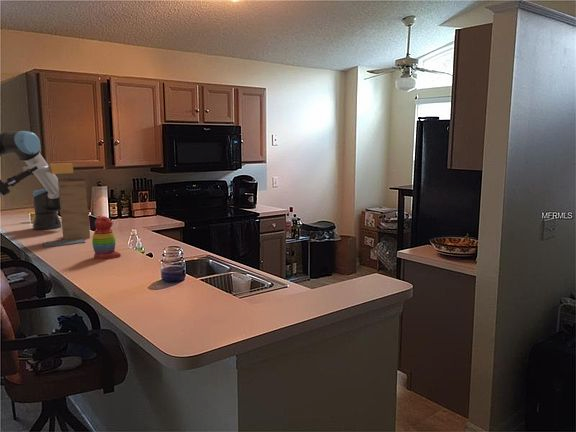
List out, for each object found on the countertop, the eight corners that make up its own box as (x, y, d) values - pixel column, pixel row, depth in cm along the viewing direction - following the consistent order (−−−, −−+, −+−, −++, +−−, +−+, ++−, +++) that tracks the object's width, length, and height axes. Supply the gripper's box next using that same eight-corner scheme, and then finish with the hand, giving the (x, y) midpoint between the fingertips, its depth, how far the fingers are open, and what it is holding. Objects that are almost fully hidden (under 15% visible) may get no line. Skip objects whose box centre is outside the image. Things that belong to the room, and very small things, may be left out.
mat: (43, 243, 235) (43, 242, 235) (82, 239, 245) (82, 238, 245) (45, 247, 227) (44, 246, 227) (85, 242, 236) (85, 241, 236)
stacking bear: (122, 256, 206) (119, 216, 203) (98, 260, 199) (95, 219, 196) (112, 252, 214) (109, 213, 211) (89, 256, 207) (86, 216, 204)
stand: (63, 238, 248) (57, 178, 243) (87, 235, 254) (82, 177, 250) (65, 241, 241) (59, 179, 237) (90, 238, 248) (85, 178, 243)
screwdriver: (24, 175, 230) (23, 165, 229) (23, 174, 234) (22, 164, 233) (73, 173, 241) (72, 163, 240) (72, 172, 245) (71, 163, 244)
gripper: (2, 194, 235) (46, 169, 244) (3, 197, 221) (49, 170, 230) (-8, 182, 232) (36, 156, 241) (-8, 184, 218) (39, 157, 227)
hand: (42, 163), depth 235 cm, fingers closed on screwdriver, 3 cm apart
